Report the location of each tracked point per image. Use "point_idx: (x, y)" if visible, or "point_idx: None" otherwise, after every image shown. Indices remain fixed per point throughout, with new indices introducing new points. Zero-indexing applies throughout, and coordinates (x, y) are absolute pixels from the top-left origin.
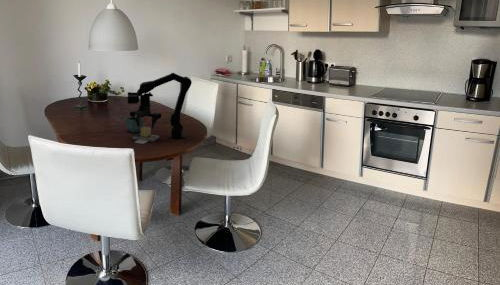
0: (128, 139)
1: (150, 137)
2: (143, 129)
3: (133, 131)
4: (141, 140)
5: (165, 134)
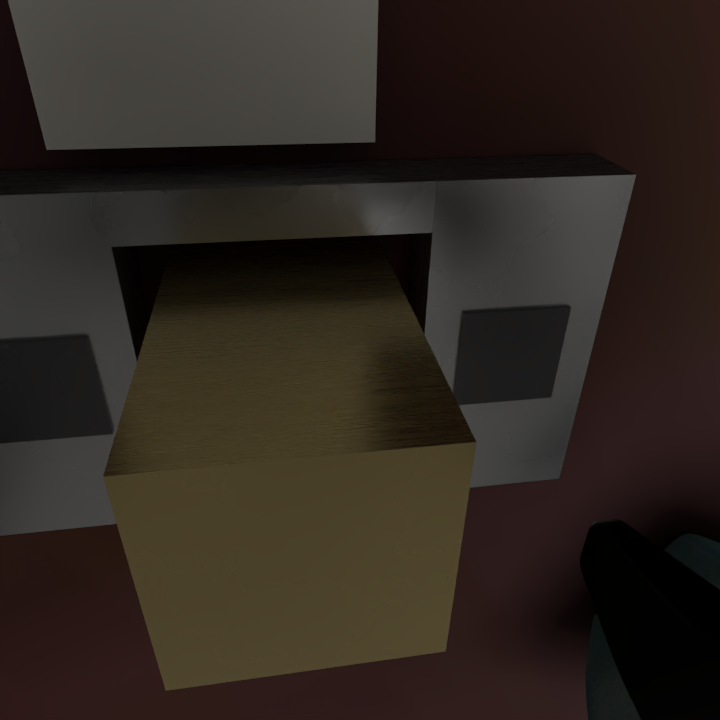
0: (692, 62)
1: (73, 313)
2: (319, 428)
3: (697, 544)
4: (239, 18)
5: (93, 689)
